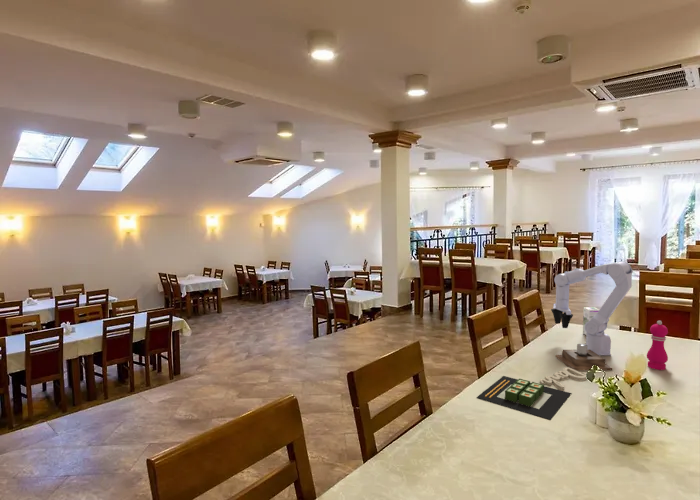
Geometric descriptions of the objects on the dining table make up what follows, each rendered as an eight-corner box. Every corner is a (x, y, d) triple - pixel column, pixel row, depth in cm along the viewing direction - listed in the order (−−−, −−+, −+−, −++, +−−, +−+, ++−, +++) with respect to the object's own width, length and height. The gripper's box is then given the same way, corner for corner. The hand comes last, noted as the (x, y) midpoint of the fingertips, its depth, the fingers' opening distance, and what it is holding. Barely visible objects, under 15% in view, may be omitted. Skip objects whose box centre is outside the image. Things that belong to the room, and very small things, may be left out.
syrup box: (599, 337, 221) (600, 309, 220) (587, 337, 221) (589, 309, 220) (593, 333, 227) (594, 306, 225) (582, 333, 227) (583, 306, 225)
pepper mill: (647, 368, 179) (650, 321, 177) (645, 363, 185) (647, 317, 183) (668, 371, 175) (672, 323, 173) (665, 365, 182) (668, 319, 180)
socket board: (591, 356, 194) (591, 347, 193) (612, 370, 178) (612, 360, 177) (555, 356, 194) (555, 348, 193) (573, 370, 178) (573, 361, 178)
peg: (584, 359, 187) (585, 343, 187) (588, 362, 184) (589, 346, 183) (575, 359, 188) (575, 343, 187) (578, 362, 184) (579, 346, 183)
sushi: (503, 377, 173) (503, 369, 173) (571, 395, 157) (571, 385, 156) (476, 399, 154) (476, 389, 154) (550, 422, 138) (550, 411, 138)
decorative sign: (567, 366, 179) (591, 374, 171) (566, 370, 179) (591, 378, 171) (534, 380, 166) (559, 389, 158) (534, 384, 166) (559, 393, 158)
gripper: (547, 295, 215) (546, 321, 217) (560, 301, 201) (559, 330, 202) (561, 295, 215) (560, 321, 217) (576, 301, 201) (575, 329, 202)
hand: (561, 325), depth 210 cm, fingers open, 7 cm apart
